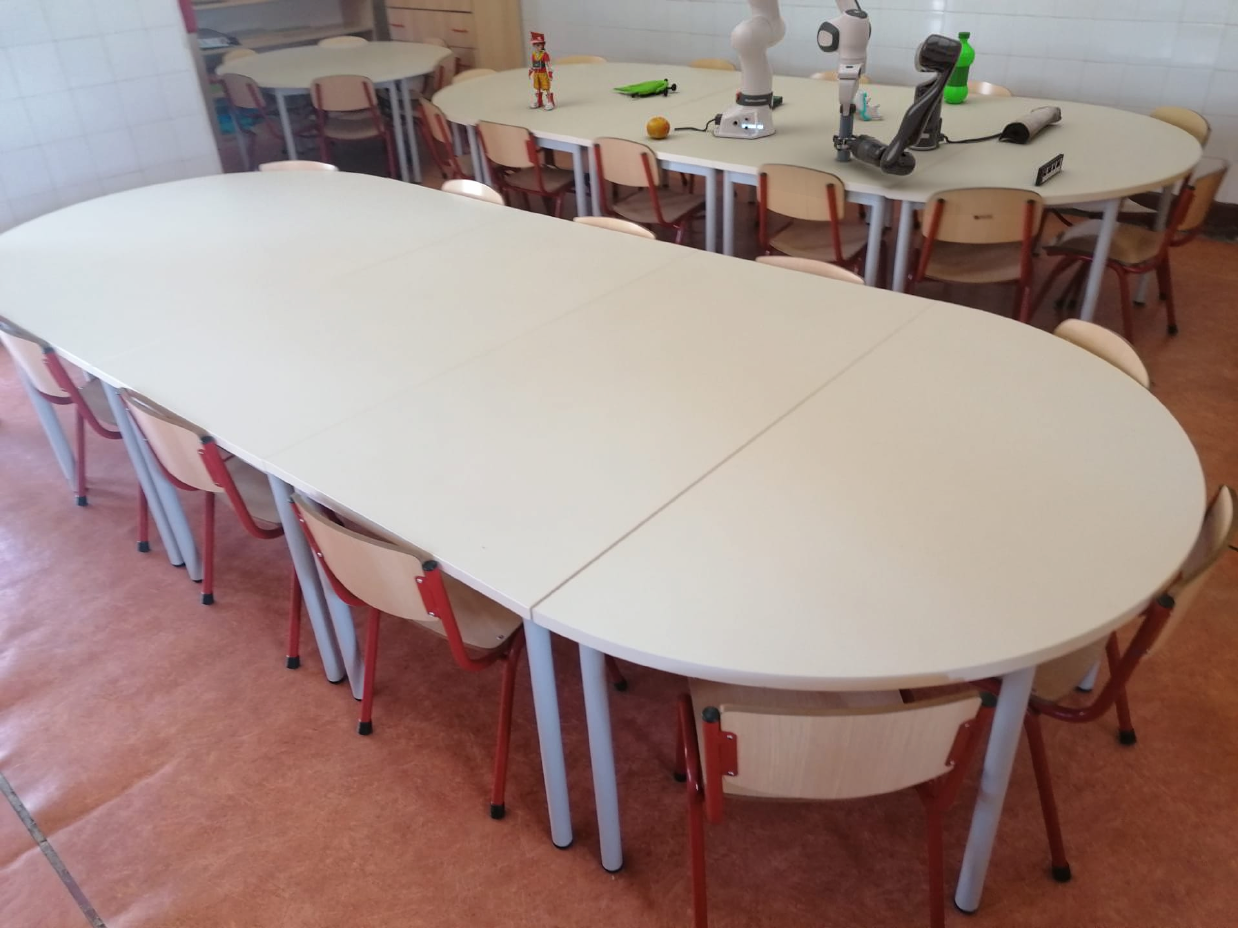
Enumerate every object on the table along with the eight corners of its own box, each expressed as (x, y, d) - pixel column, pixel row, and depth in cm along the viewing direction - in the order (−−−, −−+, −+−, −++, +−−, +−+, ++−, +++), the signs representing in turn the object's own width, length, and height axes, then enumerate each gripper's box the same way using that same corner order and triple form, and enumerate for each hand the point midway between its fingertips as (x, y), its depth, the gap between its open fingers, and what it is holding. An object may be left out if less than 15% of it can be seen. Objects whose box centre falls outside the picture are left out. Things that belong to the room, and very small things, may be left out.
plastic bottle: (973, 101, 354) (984, 32, 339) (955, 106, 349) (966, 36, 335) (952, 97, 361) (962, 29, 346) (934, 102, 356) (944, 33, 342)
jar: (834, 159, 302) (838, 107, 292) (845, 157, 303) (849, 105, 294) (841, 162, 298) (846, 110, 289) (852, 160, 300) (857, 108, 290)
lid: (849, 115, 289) (849, 108, 288) (836, 113, 292) (836, 105, 291) (858, 112, 292) (859, 105, 290) (845, 110, 295) (846, 102, 294)
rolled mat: (1028, 111, 326) (1053, 93, 318) (1042, 132, 326) (1067, 115, 318) (994, 134, 309) (1019, 116, 300) (1008, 156, 309) (1034, 139, 301)
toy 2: (686, 85, 398) (631, 84, 414) (685, 72, 395) (629, 72, 411) (651, 104, 381) (596, 103, 397) (650, 92, 378) (594, 91, 394)
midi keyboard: (1039, 185, 269) (1043, 168, 266) (1035, 184, 270) (1038, 168, 267) (1060, 170, 279) (1064, 154, 277) (1056, 169, 280) (1060, 153, 277)
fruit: (639, 130, 331) (651, 110, 328) (647, 132, 339) (658, 113, 336) (657, 142, 330) (669, 123, 327) (664, 145, 338) (676, 126, 335)
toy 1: (525, 109, 381) (517, 32, 364) (534, 104, 388) (527, 28, 371) (550, 110, 377) (543, 32, 360) (559, 105, 384) (553, 28, 367)
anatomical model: (845, 89, 345) (871, 82, 345) (847, 116, 351) (873, 109, 351) (856, 98, 333) (883, 91, 332) (859, 126, 339) (885, 119, 338)
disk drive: (768, 112, 357) (782, 103, 367) (768, 105, 355) (783, 96, 365) (744, 110, 362) (759, 101, 372) (744, 103, 360) (759, 94, 370)
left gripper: (846, 60, 293) (842, 104, 301) (836, 73, 277) (833, 120, 285) (866, 60, 291) (861, 105, 299) (857, 74, 276) (853, 120, 283)
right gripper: (889, 134, 285) (860, 122, 299) (849, 141, 282) (822, 128, 295) (886, 158, 289) (858, 145, 303) (847, 165, 286) (820, 151, 299)
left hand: (847, 112), depth 292 cm, fingers open, 6 cm apart
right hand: (840, 137), depth 299 cm, fingers closed on jar, 4 cm apart
